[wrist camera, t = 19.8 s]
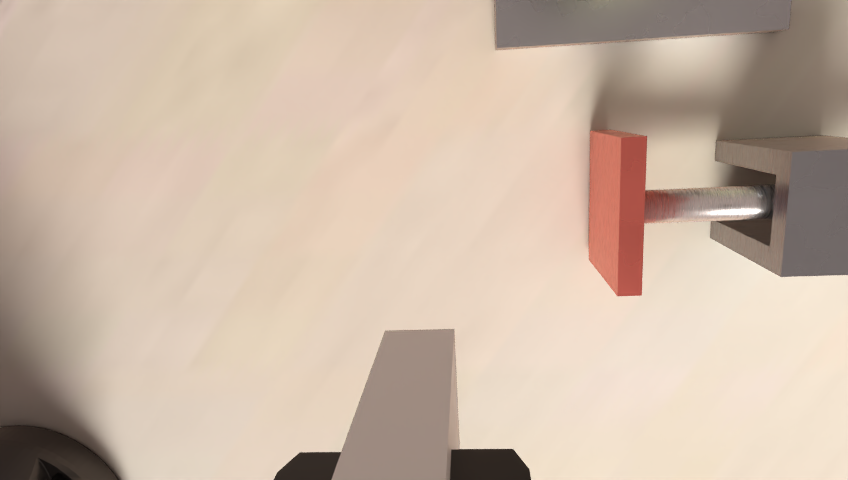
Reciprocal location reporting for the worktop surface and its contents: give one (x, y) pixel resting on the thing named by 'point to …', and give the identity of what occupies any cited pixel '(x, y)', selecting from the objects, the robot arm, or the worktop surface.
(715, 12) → the press
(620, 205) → the lever
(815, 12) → the worktop surface
